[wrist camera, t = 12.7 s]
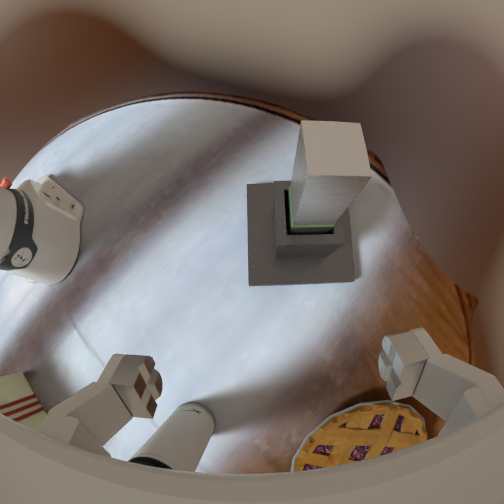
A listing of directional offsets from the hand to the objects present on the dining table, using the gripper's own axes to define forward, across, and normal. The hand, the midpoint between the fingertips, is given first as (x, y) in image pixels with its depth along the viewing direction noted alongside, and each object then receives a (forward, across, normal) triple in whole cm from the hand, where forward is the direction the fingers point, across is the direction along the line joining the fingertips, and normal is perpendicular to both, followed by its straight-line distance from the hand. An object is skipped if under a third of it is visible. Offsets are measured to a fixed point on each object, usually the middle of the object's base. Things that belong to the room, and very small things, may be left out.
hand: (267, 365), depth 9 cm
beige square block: (+25, -5, +3) cm, 26 cm away
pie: (+12, -12, +36) cm, 40 cm away
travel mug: (+16, +13, +28) cm, 34 cm away
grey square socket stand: (+30, -5, +6) cm, 31 cm away
